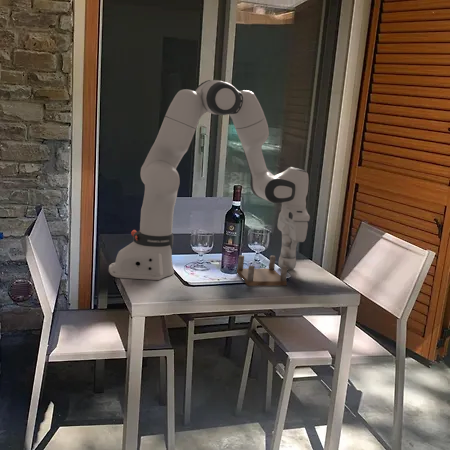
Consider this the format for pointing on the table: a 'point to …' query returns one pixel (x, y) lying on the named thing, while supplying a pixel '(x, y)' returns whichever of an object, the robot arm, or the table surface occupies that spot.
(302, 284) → the table surface
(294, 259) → the plastic bottle
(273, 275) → the peg stand
